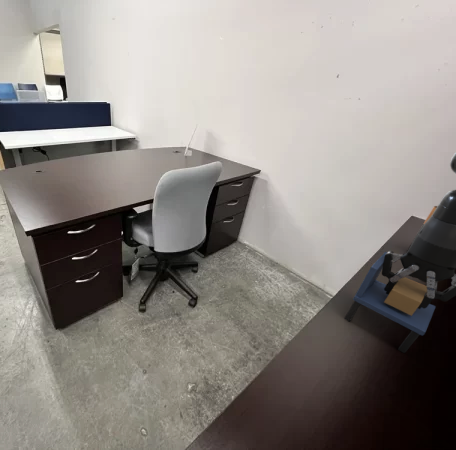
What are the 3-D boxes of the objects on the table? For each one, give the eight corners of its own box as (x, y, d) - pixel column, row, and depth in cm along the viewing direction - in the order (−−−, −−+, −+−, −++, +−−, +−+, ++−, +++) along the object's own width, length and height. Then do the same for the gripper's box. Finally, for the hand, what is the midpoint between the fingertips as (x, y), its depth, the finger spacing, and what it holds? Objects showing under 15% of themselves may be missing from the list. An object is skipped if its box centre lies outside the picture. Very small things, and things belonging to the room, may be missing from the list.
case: (419, 299, 59) (428, 286, 57) (411, 315, 54) (421, 302, 52) (393, 287, 63) (401, 275, 61) (383, 302, 58) (391, 289, 56)
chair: (418, 328, 62) (458, 277, 54) (406, 355, 55) (450, 301, 47) (358, 298, 71) (385, 250, 64) (342, 318, 64) (370, 267, 57)
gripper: (498, 250, 48) (447, 311, 55) (403, 222, 58) (371, 278, 65) (497, 262, 43) (442, 327, 51) (394, 230, 54) (362, 288, 61)
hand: (402, 299), depth 58 cm, fingers closed on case, 5 cm apart
